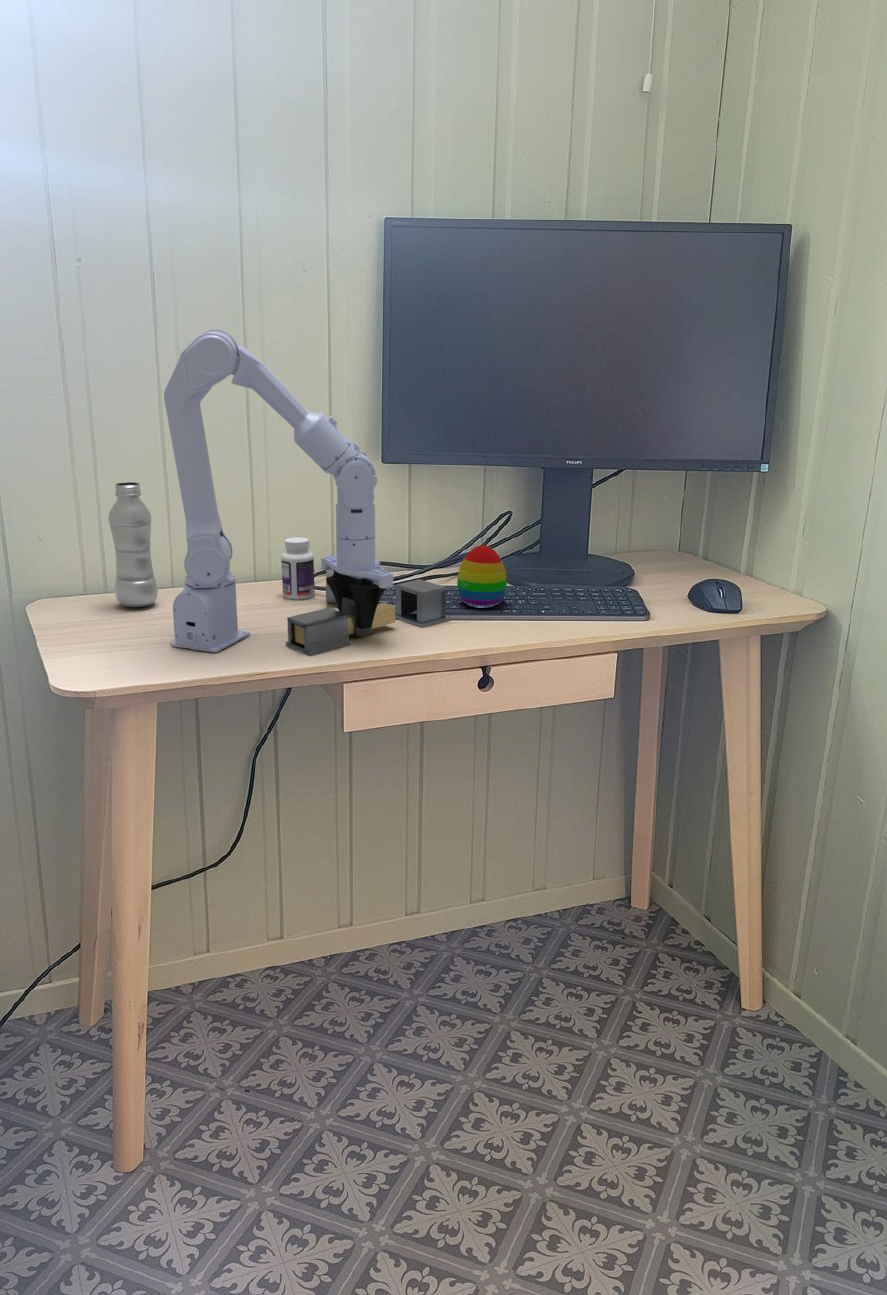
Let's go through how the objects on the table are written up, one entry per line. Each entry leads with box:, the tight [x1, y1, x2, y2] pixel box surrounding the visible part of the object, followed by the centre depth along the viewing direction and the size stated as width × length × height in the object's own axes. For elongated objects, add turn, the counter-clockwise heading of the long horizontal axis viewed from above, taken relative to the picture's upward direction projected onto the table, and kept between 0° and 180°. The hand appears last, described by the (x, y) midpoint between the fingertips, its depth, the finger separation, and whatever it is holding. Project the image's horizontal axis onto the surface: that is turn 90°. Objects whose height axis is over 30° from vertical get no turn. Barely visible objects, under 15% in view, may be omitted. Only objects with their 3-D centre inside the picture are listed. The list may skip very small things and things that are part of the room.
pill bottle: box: [281, 536, 316, 601], centre depth 183 cm, size 5×5×10 cm
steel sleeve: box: [284, 607, 352, 657], centre depth 159 cm, size 8×6×4 cm
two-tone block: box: [294, 594, 396, 645], centre depth 162 cm, size 17×3×6 cm, turn 133°
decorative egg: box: [456, 544, 508, 605], centre depth 180 cm, size 8×8×10 cm
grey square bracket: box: [395, 579, 451, 628], centre depth 172 cm, size 6×7×5 cm
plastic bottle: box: [108, 481, 159, 608], centre depth 174 cm, size 6×7×20 cm
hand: (356, 624), depth 164 cm, fingers closed on two-tone block, 3 cm apart
